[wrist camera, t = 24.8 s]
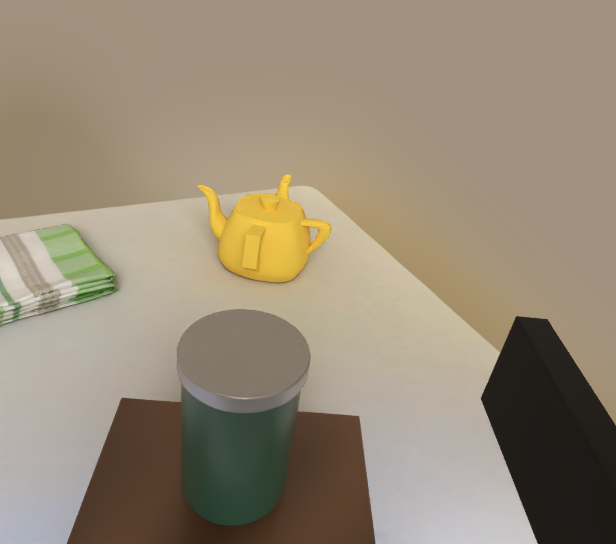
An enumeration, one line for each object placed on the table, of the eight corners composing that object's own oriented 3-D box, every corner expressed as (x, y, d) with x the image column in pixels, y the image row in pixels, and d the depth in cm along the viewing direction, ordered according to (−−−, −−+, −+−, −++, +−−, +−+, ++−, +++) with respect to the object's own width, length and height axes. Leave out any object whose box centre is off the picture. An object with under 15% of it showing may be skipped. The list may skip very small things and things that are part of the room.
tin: (309, 494, 30) (336, 368, 25) (209, 552, 27) (216, 419, 22) (253, 419, 35) (265, 296, 29) (159, 461, 31) (155, 330, 26)
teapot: (281, 232, 79) (289, 170, 74) (331, 278, 70) (343, 212, 65) (195, 247, 72) (196, 180, 67) (237, 301, 63) (242, 229, 58)
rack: (81, 663, 31) (57, 565, 25) (130, 497, 41) (121, 397, 35) (345, 672, 33) (380, 582, 27) (334, 510, 42) (359, 415, 36)
